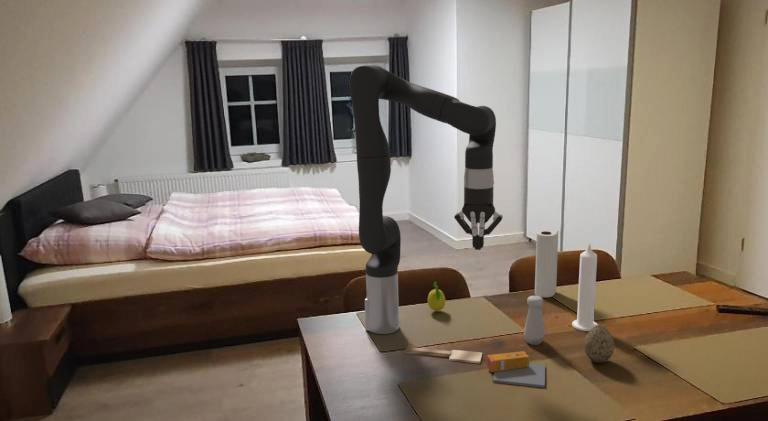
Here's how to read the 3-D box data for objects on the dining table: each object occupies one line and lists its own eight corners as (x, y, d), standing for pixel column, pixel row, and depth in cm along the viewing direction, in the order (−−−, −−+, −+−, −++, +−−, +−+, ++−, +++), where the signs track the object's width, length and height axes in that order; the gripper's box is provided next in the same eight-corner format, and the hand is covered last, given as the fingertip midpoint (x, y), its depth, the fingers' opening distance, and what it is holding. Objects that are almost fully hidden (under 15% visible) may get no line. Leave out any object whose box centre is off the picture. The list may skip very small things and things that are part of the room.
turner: (404, 355, 153) (404, 352, 153) (408, 347, 158) (408, 344, 158) (480, 363, 148) (480, 360, 148) (482, 354, 153) (482, 351, 153)
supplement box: (491, 373, 142) (529, 368, 144) (491, 361, 142) (529, 355, 143) (486, 367, 146) (524, 361, 147) (486, 354, 145) (524, 349, 146)
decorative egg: (577, 358, 149) (578, 322, 147) (598, 352, 152) (600, 317, 150) (597, 370, 143) (599, 333, 141) (619, 364, 146) (621, 327, 143)
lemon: (433, 306, 186) (433, 276, 183) (449, 309, 182) (449, 279, 180) (422, 313, 180) (422, 282, 178) (438, 317, 177) (438, 286, 175)
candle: (571, 329, 166) (575, 246, 160) (573, 320, 172) (577, 239, 166) (597, 333, 163) (602, 248, 157) (598, 323, 170) (603, 241, 164)
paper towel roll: (535, 297, 190) (537, 235, 185) (533, 291, 196) (535, 230, 191) (558, 298, 189) (560, 235, 184) (556, 291, 194) (558, 230, 190)
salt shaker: (545, 347, 156) (547, 301, 153) (523, 345, 157) (524, 300, 154) (544, 337, 161) (545, 293, 158) (522, 336, 163) (524, 292, 160)
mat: (492, 381, 139) (492, 379, 139) (496, 362, 148) (496, 360, 148) (544, 387, 136) (544, 385, 136) (544, 367, 145) (545, 365, 145)
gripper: (450, 187, 148) (451, 252, 152) (503, 188, 144) (502, 254, 148) (455, 181, 155) (455, 243, 159) (505, 182, 151) (504, 246, 155)
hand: (478, 249), depth 153 cm, fingers closed
